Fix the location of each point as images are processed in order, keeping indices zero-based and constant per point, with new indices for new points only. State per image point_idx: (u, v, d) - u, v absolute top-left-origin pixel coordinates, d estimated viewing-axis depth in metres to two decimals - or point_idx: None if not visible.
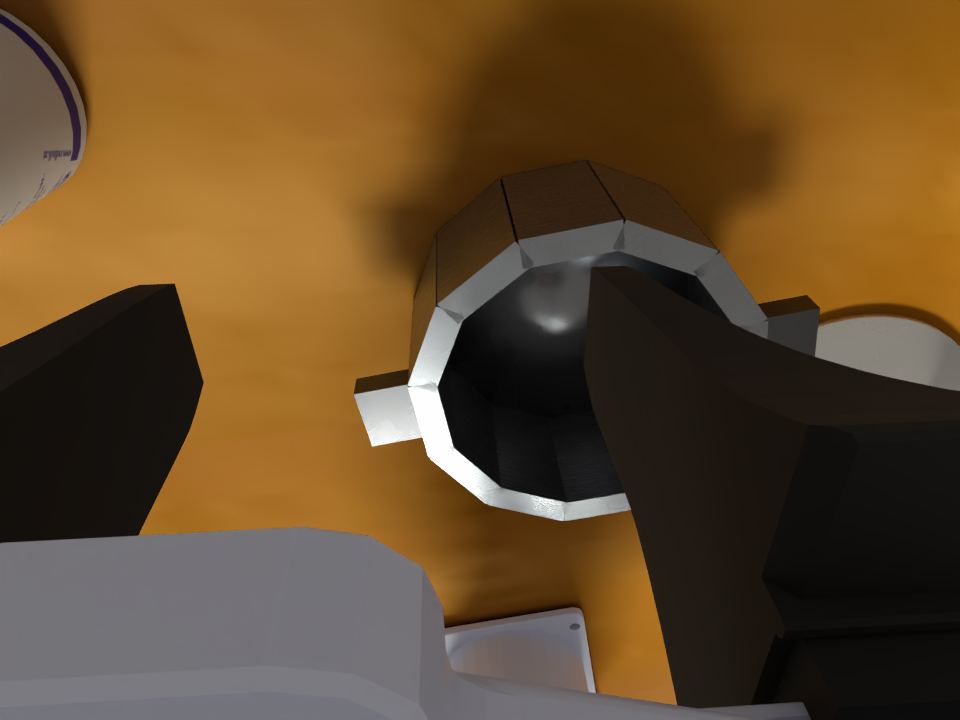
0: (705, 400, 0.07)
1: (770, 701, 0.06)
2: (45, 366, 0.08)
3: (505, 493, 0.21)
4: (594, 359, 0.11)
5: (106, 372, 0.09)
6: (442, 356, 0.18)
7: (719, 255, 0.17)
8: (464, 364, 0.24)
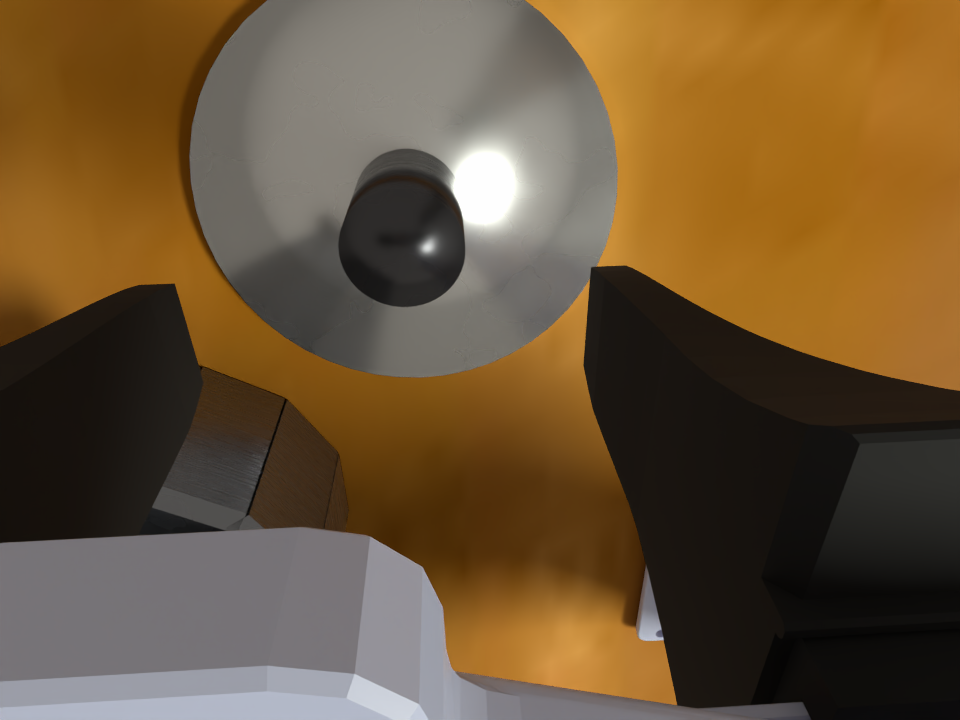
0: (705, 400, 0.07)
1: (770, 701, 0.06)
2: (45, 366, 0.08)
3: None
4: (594, 359, 0.11)
5: (106, 372, 0.09)
6: None
7: None
8: None
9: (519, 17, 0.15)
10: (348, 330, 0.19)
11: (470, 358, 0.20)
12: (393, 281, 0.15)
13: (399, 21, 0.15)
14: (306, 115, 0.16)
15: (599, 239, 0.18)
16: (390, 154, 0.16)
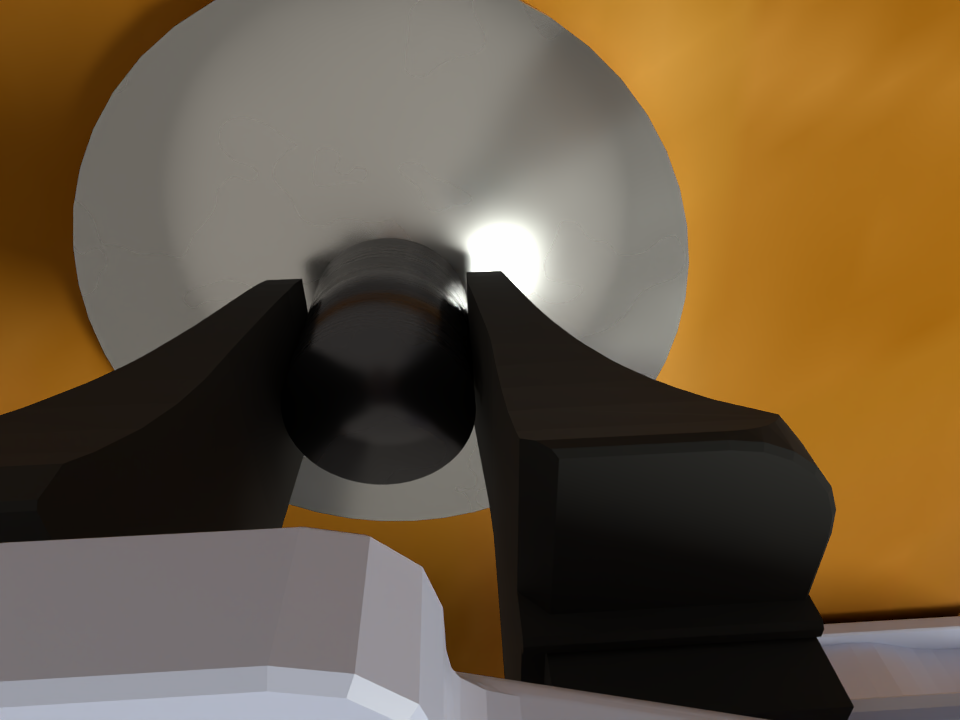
0: (500, 409, 0.07)
1: None
2: (225, 358, 0.08)
3: None
4: None
5: (262, 365, 0.09)
6: None
7: None
8: None
9: (557, 54, 0.10)
10: (312, 467, 0.14)
11: (476, 498, 0.15)
12: (366, 452, 0.10)
13: (375, 58, 0.10)
14: (241, 192, 0.11)
15: (657, 352, 0.13)
16: (365, 248, 0.11)
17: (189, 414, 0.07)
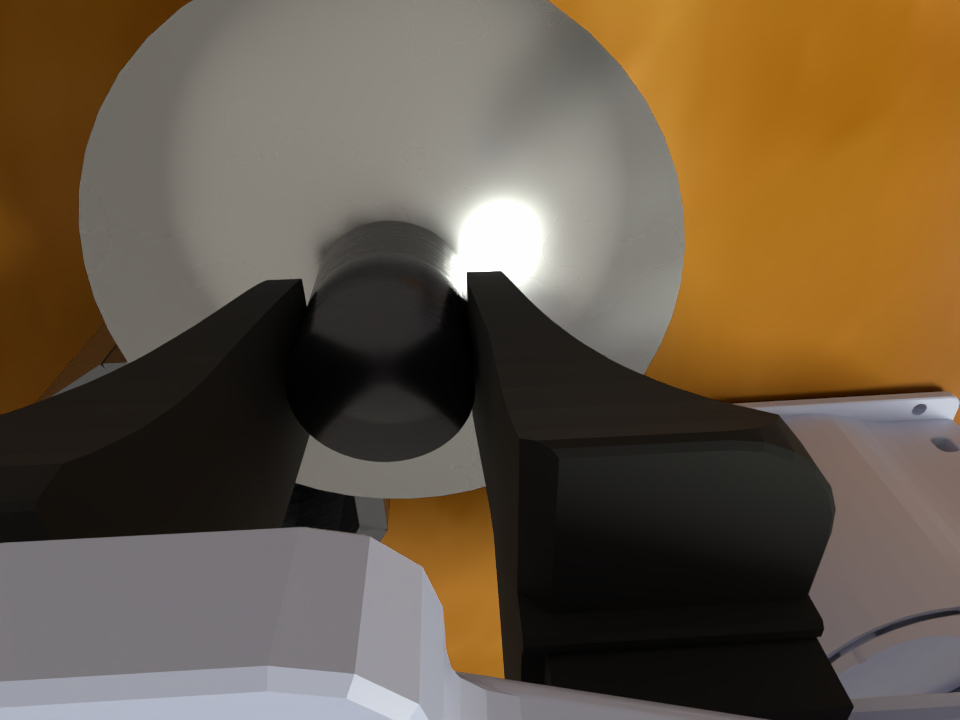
0: (500, 409, 0.07)
1: None
2: (225, 358, 0.08)
3: None
4: None
5: (262, 365, 0.09)
6: None
7: None
8: (297, 492, 0.25)
9: (558, 40, 0.10)
10: (313, 445, 0.15)
11: (473, 477, 0.15)
12: (368, 430, 0.10)
13: (379, 42, 0.10)
14: (245, 174, 0.11)
15: (653, 336, 0.13)
16: (367, 230, 0.12)
17: (189, 414, 0.07)
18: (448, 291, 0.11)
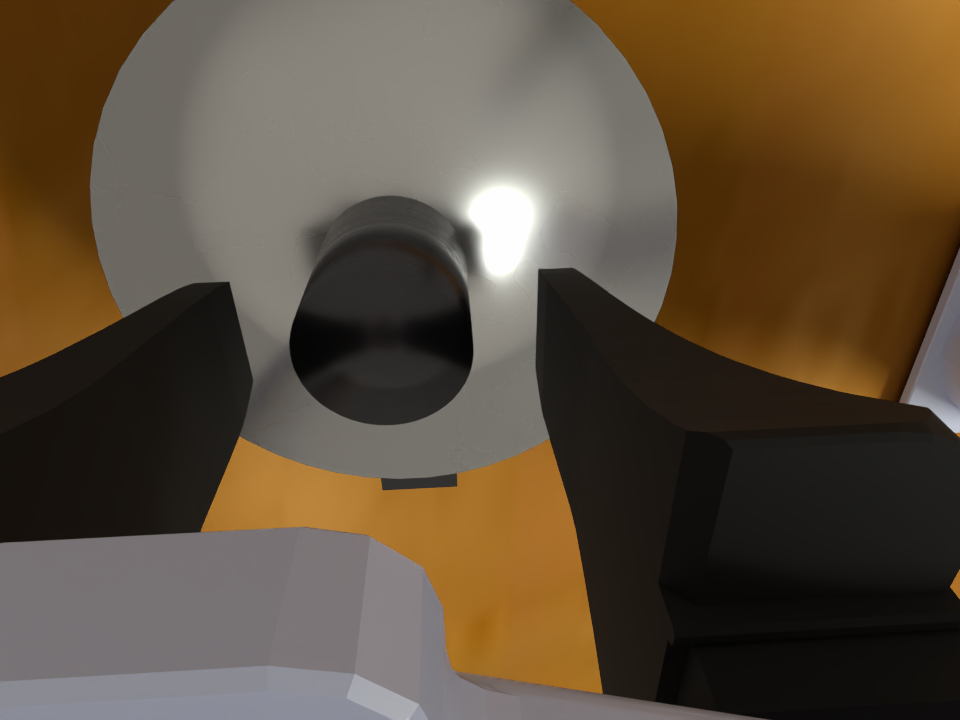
0: (618, 403, 0.07)
1: None
2: (122, 362, 0.08)
3: None
4: (541, 361, 0.11)
5: (173, 369, 0.09)
6: None
7: None
8: None
9: (566, 29, 0.11)
10: (304, 419, 0.15)
11: (461, 459, 0.16)
12: (367, 391, 0.11)
13: (396, 20, 0.11)
14: (257, 141, 0.12)
15: None
16: (373, 203, 0.12)
17: (68, 419, 0.07)
18: (450, 262, 0.11)
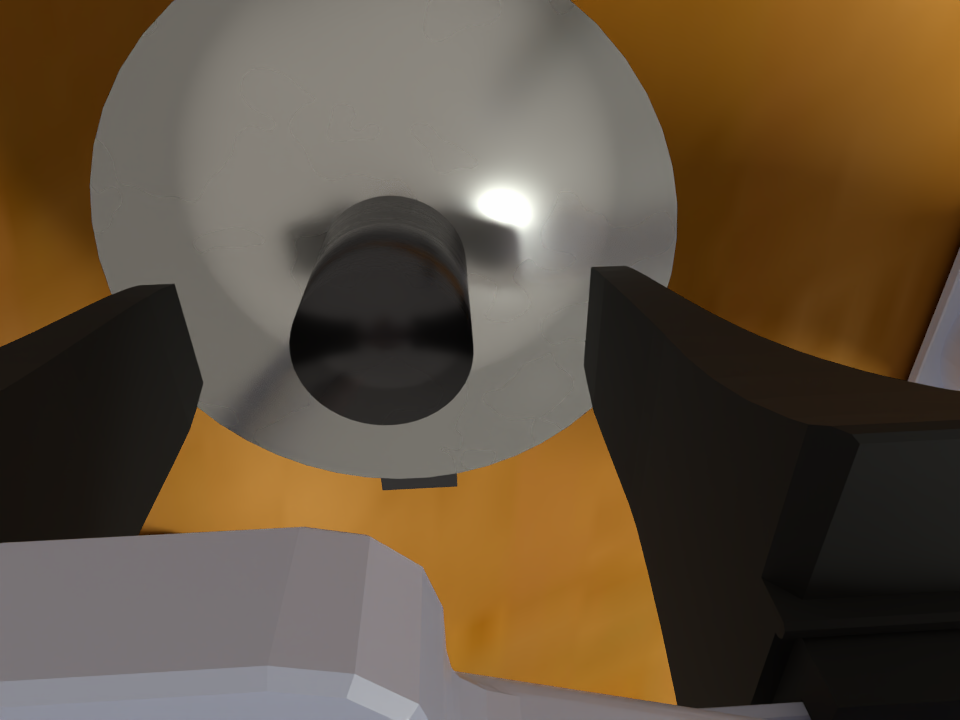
0: (704, 399, 0.07)
1: (770, 701, 0.06)
2: (45, 366, 0.08)
3: None
4: (594, 359, 0.11)
5: (106, 372, 0.09)
6: None
7: None
8: None
9: (566, 29, 0.11)
10: (304, 419, 0.15)
11: (461, 459, 0.16)
12: (367, 391, 0.11)
13: (396, 20, 0.11)
14: (257, 141, 0.12)
15: None
16: (373, 203, 0.12)
17: None
18: (450, 262, 0.11)
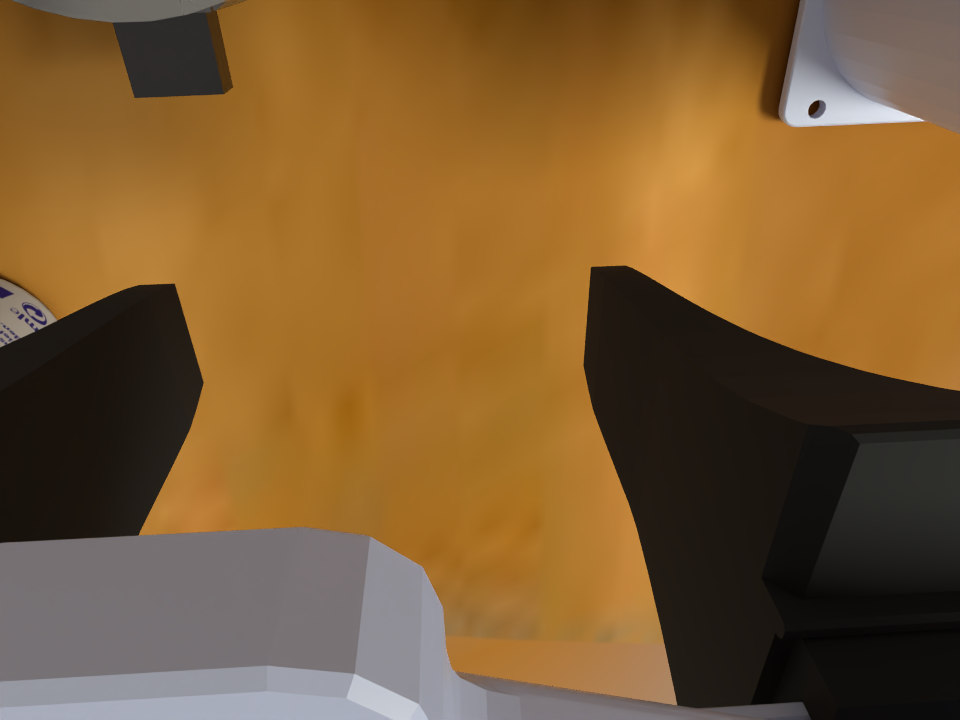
0: (704, 399, 0.07)
1: (770, 701, 0.06)
2: (45, 366, 0.08)
3: None
4: (594, 359, 0.11)
5: (106, 372, 0.09)
6: None
7: None
8: None
9: None
10: None
11: None
12: None
13: None
14: None
15: None
16: None
17: None
18: None
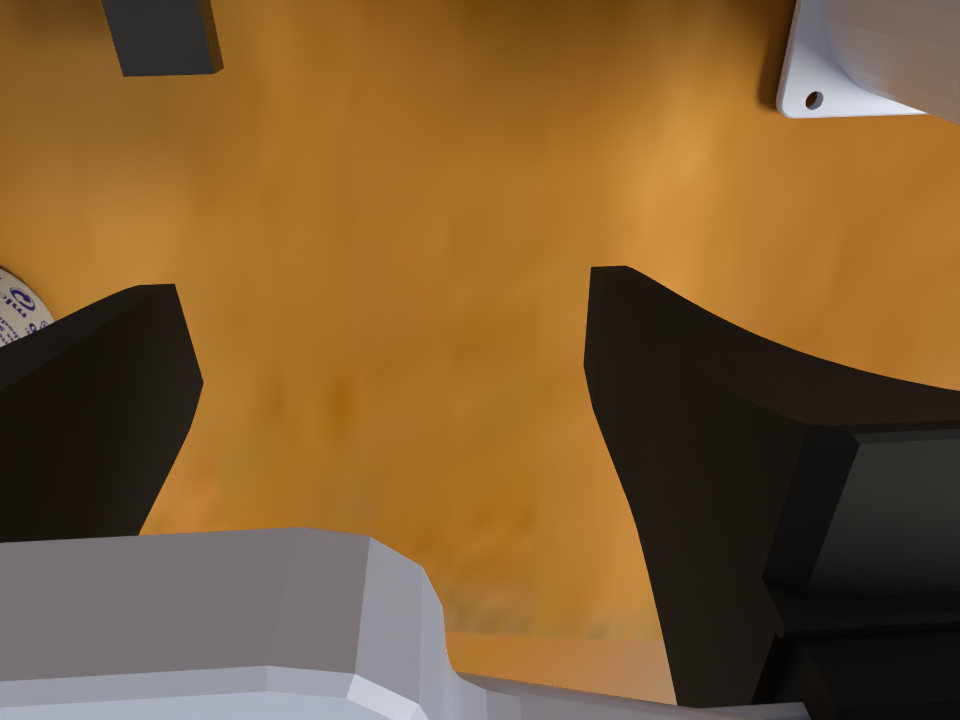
0: (704, 400, 0.07)
1: (770, 701, 0.06)
2: (45, 366, 0.08)
3: None
4: (594, 359, 0.11)
5: (106, 372, 0.09)
6: None
7: None
8: None
9: None
10: None
11: None
12: None
13: None
14: None
15: None
16: None
17: None
18: None
